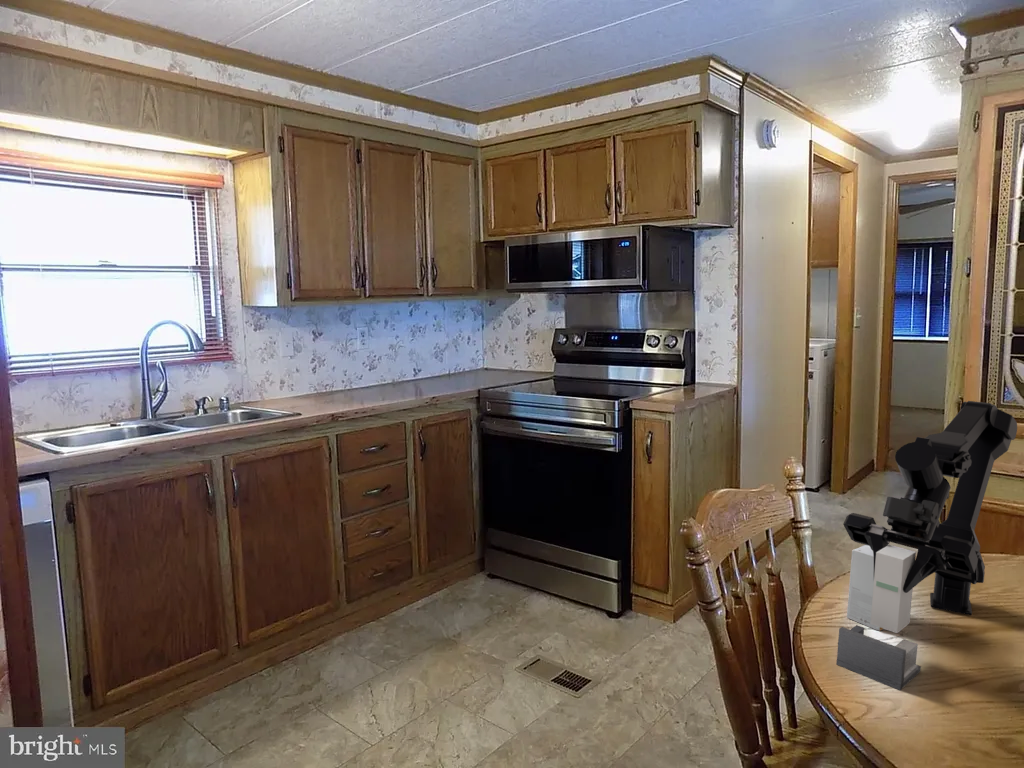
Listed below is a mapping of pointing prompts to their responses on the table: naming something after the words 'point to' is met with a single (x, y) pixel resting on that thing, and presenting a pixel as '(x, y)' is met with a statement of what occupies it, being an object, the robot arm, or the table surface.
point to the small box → (861, 586)
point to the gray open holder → (877, 657)
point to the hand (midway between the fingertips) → (889, 586)
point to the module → (892, 588)
